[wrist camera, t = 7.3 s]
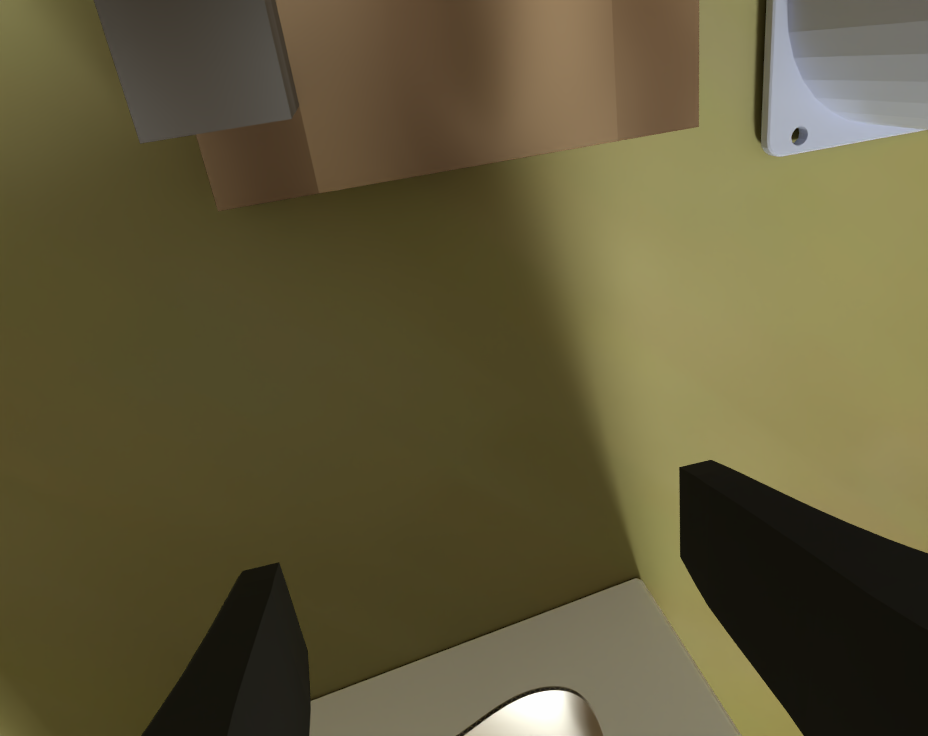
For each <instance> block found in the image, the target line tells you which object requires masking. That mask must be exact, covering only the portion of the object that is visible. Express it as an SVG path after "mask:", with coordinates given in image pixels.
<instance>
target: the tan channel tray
mask: <svg viewBox="0 0 928 736" xmlns="http://www.w3.org/2000/svg"><path fill="white" fill-rule="evenodd" d="M94 3H95V6H96V9H97V12H98V15H99V18H100V21H101V24H102V27H103V30H104V34H105V37H106V40H107V43H108V46H109V49H110V52H111V55H112V58H113V61H114V64H115V67H116V71H117V74H118V77H119V80H120V83H121V86H122V89H123V92H124V95H125V98H126V101H127V104H128V108H129V111H130V114H131V117H132V120H133V123H134V126H135V129H136V132H137V135H138V138H139V141H140V143H146V142H153V141H159V140H165V139H171V138H177V137H183V136H190V135H196V137H197V141H198V144H199V147H200V151H201V154H202V158H203V161H204V165H205V168H206V172H207V175H208V178H209V182H210V185H211V189H212V192H213V196H214V199H215V203H216V206H217V209H218V211H222V210H228V209H234V208H239V207H245V206H251V205H256V204H262V203H268V202H273V201H279V200H285V199H290V198H296V197H302V196H308V195H313V194H319V193H325V192H330V191H336V190H342V189H347V188H353V187H359V186H364V185H370V184H376V183H381V182H387V181H393V180H398V179H404V178H410V177H416V176H421V175H427V174H433V173H438V172H444V171H450V170H455V169H461V168H467V167H472V166H478V165H484V164H489V163H495V162H501V161H507V160H512V159H518V158H524V157H529V156H535V155H541V154H546V153H552V152H558V151H563V150H569V149H575V148H580V147H586V146H592V145H598V144H603V143H609V142H615V141H620V140H626V139H632V138H637V137H643V136H649V135H654V134H660V133H666V132H671V131H677V130H683V129H689V128H694V127H699V0H94Z"/></svg>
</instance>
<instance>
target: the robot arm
mask: <svg viewBox="0 0 928 736" xmlns="http://www.w3.org/2000/svg"><path fill="white" fill-rule="evenodd" d="M796 128H798V129H799V137H798V139H797V140H796V141H795V142H794V143H792V140H791V136H792V133H793V131H794V130H795V129H796ZM922 130H928V0H767V2H766V27H765V52H764V77H763V103H762V128H761V144H762V148H763V150H764V151H765V152H766V153H767V154H769V155H772V156H787V155H792V154H798V153H803V152H808V151H814V150H819V149H825V148H830V147H836V146H841V145H846V144H852V143H857V142H863V141H868V140H874V139H879V138H884V137H890V136H895V135H901V134H906V133H912V132H917V131H922ZM679 471H680V557H681V559H682V561H683V563H684V564H685V566H686V568H687V570H688V572H689V574H690V575H691V577H692V579H693V581H694V583H695V584H696V586H697V588H698V590H699V591H700V593H701V595H702V596H703V598H704V600H705V602H706V603H707V605H708V606H709V608H710V609H711V611H712V612H713V613H714V615H715V616H716V617H717V619H718V620H719V622H720V623H721V624H722V626H723V627H724V628H725V630H726V631H727V632H728V634H729V635H730V636H731V638H732V639H733V640H734V642H735V643H736V644H737V646H738V647H739V648H740V650H741V651H742V652H743V654H744V655H745V656H746V658H747V659H748V660H749V662H750V663H751V664H752V666H753V667H754V668H755V670H756V671H757V672H758V674H759V675H760V676H761V678H762V679H763V680H764V682H765V683H766V684H767V686H768V687H769V688H770V690H771V691H772V692H773V694H774V695H775V696H776V698H777V699H778V700H779V701H780V703H781V704H782V705H783V707H784V708H785V709H786V711H787V712H788V714H789V715H790V717H791V718H792V719H793V721H794V722H795V724H796V725H797V727H798V728H799V730H800V731H801V732H802V734H803V735H804V736H928V553H925V552H922V551H919V550H916V549H913V548H911V547H908V546H905V545H902V544H900V543H897V542H894V541H892V540H889V539H886V538H884V537H882V536H879V535H877V534H874V533H872V532H869V531H867V530H864V529H862V528H859V527H857V526H854V525H852V524H850V523H847V522H845V521H843V520H840V519H838V518H836V517H833V516H831V515H829V514H827V513H824V512H822V511H820V510H818V509H815V508H813V507H811V506H809V505H807V504H805V503H802V502H800V501H798V500H796V499H794V498H792V497H790V496H788V495H785V494H783V493H781V492H779V491H777V490H775V489H773V488H771V487H769V486H767V485H765V484H762V483H760V482H758V481H756V480H754V479H752V478H750V477H748V476H746V475H744V474H742V473H740V472H737V471H735V470H733V469H731V468H729V467H727V466H724V465H722V464H720V463H717V462H715V461H713V460H708V461H704V462H700V463H696V464H691V465H687V466H683V467H679ZM310 715H311V703H310V681H309V664H308V650H307V647H306V644H305V641H304V638H303V635H302V632H301V629H300V626H299V622H298V619H297V616H296V613H295V610H294V607H293V604H292V601H291V598H290V594H289V591H288V588H287V585H286V582H285V579H284V576H283V573H282V570H281V566H280V563H275V564H270V565H266V566H262V567H258V568H254V569H249V570H245V571H243V572H242V573H241V574H240V576H239V577H238V579H237V580H236V582H235V584H234V586H233V588H232V589H231V591H230V593H229V595H228V597H227V599H226V600H225V602H224V604H223V606H222V608H221V610H220V611H219V613H218V615H217V617H216V618H215V620H214V622H213V624H212V626H211V627H210V629H209V631H208V633H207V634H206V636H205V638H204V639H203V641H202V643H201V644H200V646H199V648H198V649H197V651H196V653H195V654H194V656H193V658H192V659H191V661H190V663H189V664H188V666H187V668H186V669H185V671H184V673H183V674H182V676H181V677H180V679H179V680H178V682H177V684H176V685H175V687H174V688H173V690H172V691H171V693H170V694H169V696H168V697H167V699H166V700H165V702H164V703H163V705H162V706H161V708H160V709H159V710H158V712H157V713H156V715H155V716H154V718H153V719H152V721H151V722H150V724H149V725H148V727H147V728H146V730H145V731H144V732H143V734H142V735H141V736H309V733H310Z"/></svg>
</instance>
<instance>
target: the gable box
mask: <svg viewBox="0 0 928 736" xmlns="http://www.w3.org/2000/svg"><path fill="white" fill-rule="evenodd" d="M310 703H311V715H310V733H309V736H742V735H741V734H740V732H739V731H738V729H737V728H736V726H735V725H734V723H733V721H732V720H731V718H730V717H729V715H728V714H727V712H726V710H725V709H724V707H723V706H722V704H721V703H720V701H719V699H718V698H717V696H716V695H715V693H714V692H713V690H712V689H711V687H710V685H709V684H708V682H707V681H706V679H705V678H704V676H703V674H702V673H701V671H700V670H699V668H698V667H697V665H696V663H695V662H694V660H693V659H692V657H691V656H690V654H689V653H688V651H687V649H686V648H685V646H684V645H683V643H682V642H681V640H680V638H679V637H678V635H677V634H676V632H675V631H674V629H673V627H672V626H671V624H670V623H669V621H668V620H667V618H666V616H665V615H664V613H663V612H662V610H661V609H660V607H659V606H658V604H657V602H656V601H655V599H654V598H653V596H652V595H651V593H650V591H649V590H648V588H647V587H646V585H645V584H644V582H643V580H640V579H637V578H635V579H632V580H630V581H627V582H624V583H622V584H619V585H616V586H614V587H611V588H608V589H606V590H603V591H600V592H598V593H595V594H593V595H590V596H587V597H585V598H582V599H579V600H577V601H574V602H571V603H569V604H566V605H563V606H561V607H558V608H556V609H553V610H550V611H548V612H545V613H542V614H540V615H537V616H534V617H532V618H529V619H526V620H524V621H521V622H519V623H516V624H513V625H511V626H508V627H505V628H503V629H500V630H497V631H495V632H492V633H489V634H487V635H484V636H481V637H479V638H476V639H474V640H471V641H468V642H466V643H463V644H460V645H458V646H455V647H452V648H450V649H447V650H444V651H442V652H439V653H437V654H434V655H431V656H429V657H426V658H423V659H421V660H418V661H415V662H413V663H410V664H407V665H405V666H402V667H400V668H397V669H394V670H392V671H389V672H386V673H384V674H381V675H378V676H376V677H373V678H370V679H368V680H365V681H363V682H360V683H357V684H355V685H352V686H349V687H347V688H344V689H341V690H339V691H336V692H333V693H331V694H328V695H325V696H323V697H320V698H318V699H315V700H312V701H310Z"/></svg>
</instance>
